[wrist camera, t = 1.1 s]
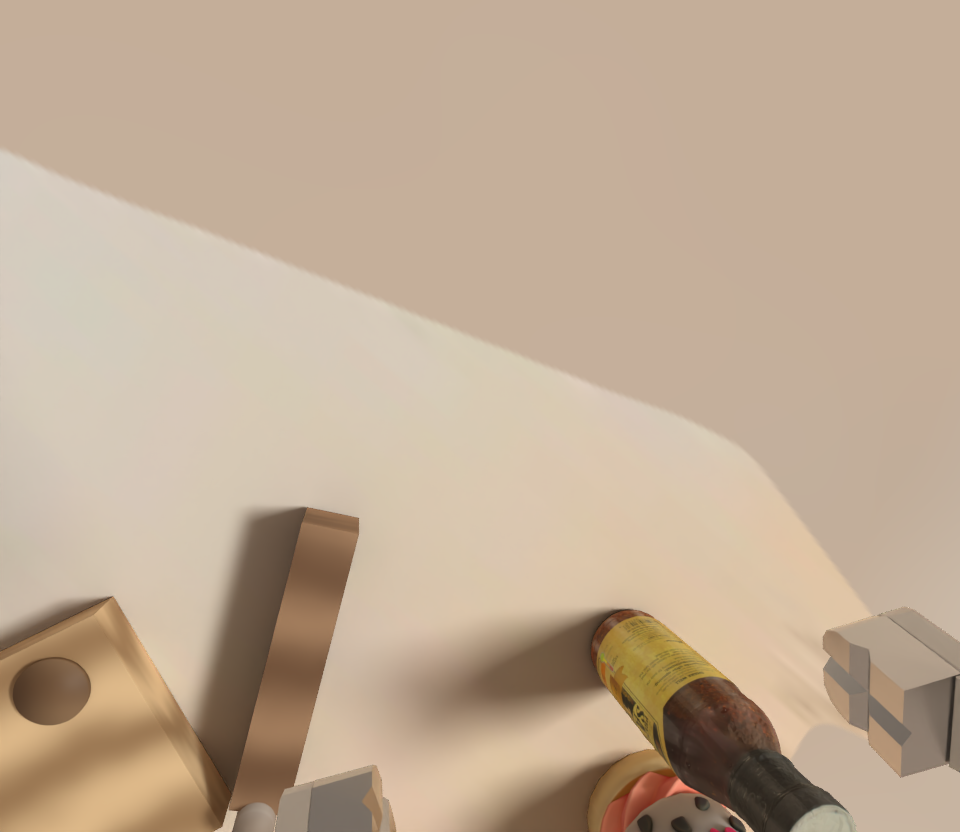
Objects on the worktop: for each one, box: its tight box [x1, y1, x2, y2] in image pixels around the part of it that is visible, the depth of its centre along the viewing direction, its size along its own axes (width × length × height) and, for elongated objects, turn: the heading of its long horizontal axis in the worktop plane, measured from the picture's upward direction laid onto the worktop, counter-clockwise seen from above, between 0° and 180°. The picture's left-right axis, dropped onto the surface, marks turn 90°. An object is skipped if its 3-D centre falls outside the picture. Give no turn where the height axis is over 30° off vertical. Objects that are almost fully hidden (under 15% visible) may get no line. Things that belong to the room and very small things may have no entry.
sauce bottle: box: [591, 610, 857, 832], centre depth 37 cm, size 7×6×20 cm
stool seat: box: [0, 597, 232, 832], centre depth 38 cm, size 16×18×3 cm
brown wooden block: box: [229, 507, 359, 832], centre depth 40 cm, size 20×4×5 cm, turn 165°
